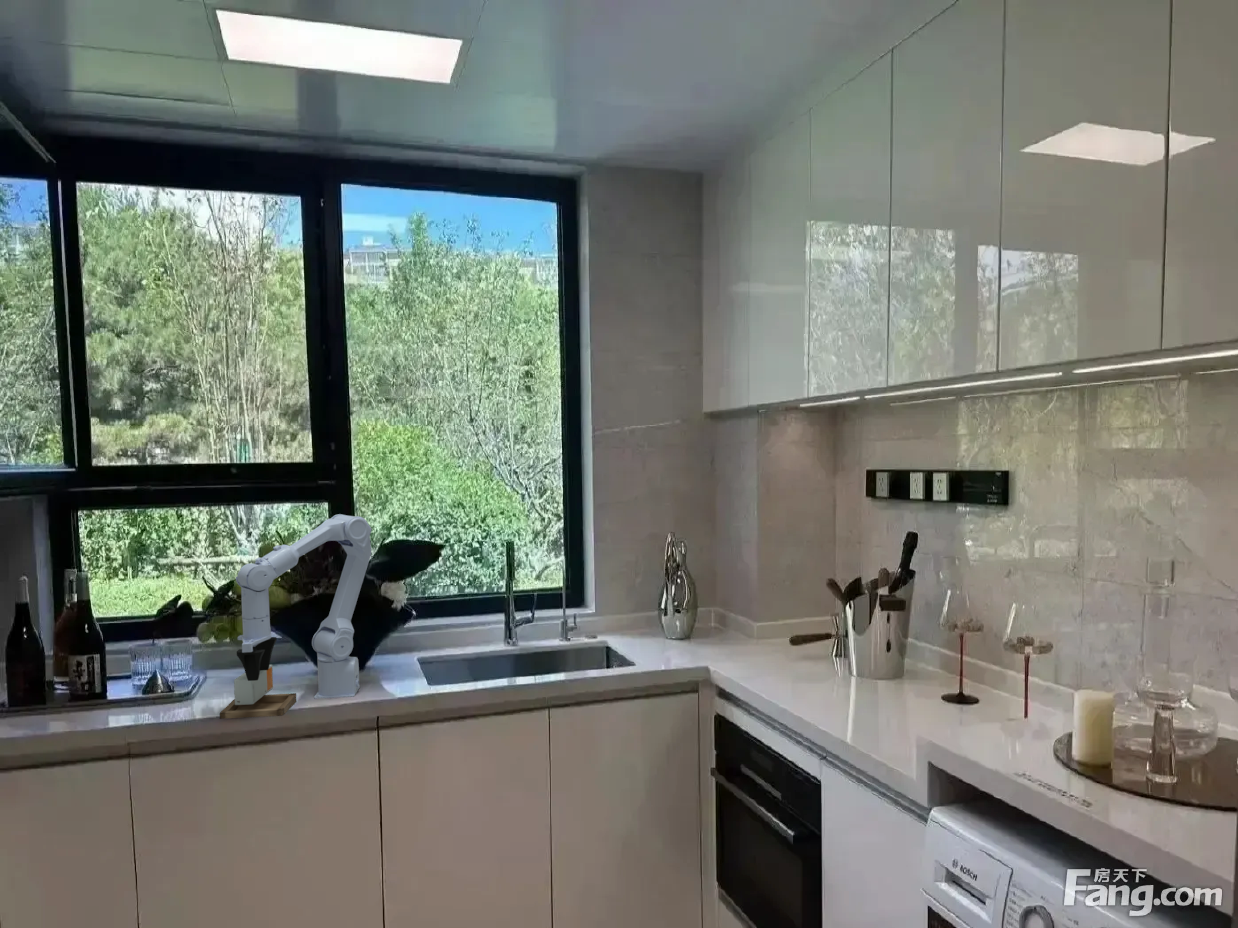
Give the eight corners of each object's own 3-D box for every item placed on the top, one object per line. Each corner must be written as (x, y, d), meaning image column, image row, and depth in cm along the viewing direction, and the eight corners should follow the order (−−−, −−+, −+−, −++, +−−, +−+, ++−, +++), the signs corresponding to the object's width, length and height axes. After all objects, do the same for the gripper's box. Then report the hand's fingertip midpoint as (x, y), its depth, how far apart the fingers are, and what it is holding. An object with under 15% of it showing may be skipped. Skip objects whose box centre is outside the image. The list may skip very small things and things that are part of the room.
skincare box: (274, 688, 199) (253, 705, 187) (256, 688, 198) (234, 705, 186) (273, 663, 198) (251, 679, 186) (255, 663, 198) (232, 679, 186)
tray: (296, 703, 195) (296, 693, 195) (283, 720, 183) (282, 709, 183) (237, 706, 193) (237, 696, 193) (220, 724, 182) (219, 713, 182)
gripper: (247, 609, 194) (250, 666, 195) (226, 624, 179) (229, 685, 180) (279, 608, 195) (281, 664, 195) (260, 623, 180) (262, 684, 181)
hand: (258, 674), depth 188 cm, fingers open, 7 cm apart
